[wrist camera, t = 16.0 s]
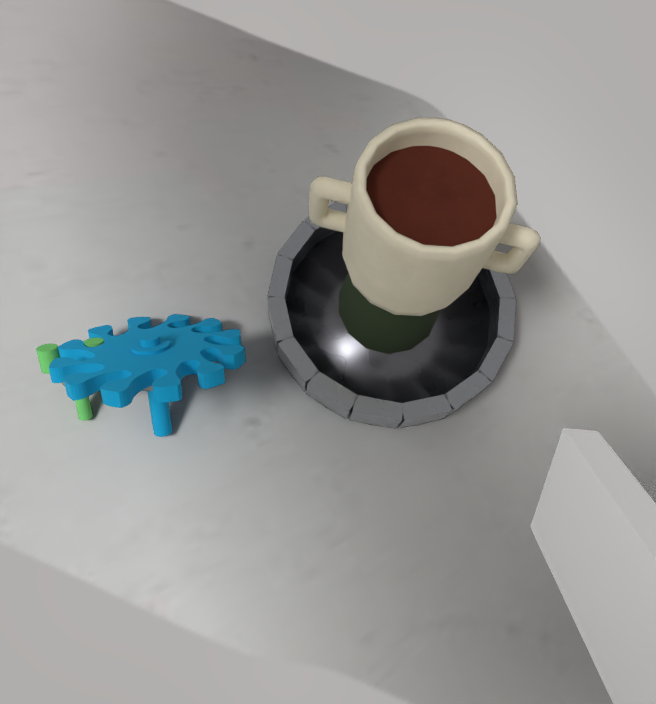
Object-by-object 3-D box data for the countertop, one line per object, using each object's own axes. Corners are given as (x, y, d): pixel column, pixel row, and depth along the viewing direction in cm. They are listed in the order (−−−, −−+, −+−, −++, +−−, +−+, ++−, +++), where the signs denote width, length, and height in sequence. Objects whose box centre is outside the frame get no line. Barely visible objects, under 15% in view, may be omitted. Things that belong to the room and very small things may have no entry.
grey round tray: (225, 282, 36) (221, 265, 34) (406, 179, 40) (413, 158, 38) (364, 476, 33) (369, 471, 31) (549, 342, 37) (564, 329, 35)
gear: (261, 307, 34) (216, 383, 25) (265, 394, 37) (226, 492, 28) (85, 302, 35) (-20, 373, 26) (101, 387, 38) (10, 479, 28)
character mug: (477, 284, 37) (570, 148, 25) (460, 384, 35) (555, 286, 23) (316, 243, 37) (332, 88, 25) (288, 339, 35) (290, 219, 23)
